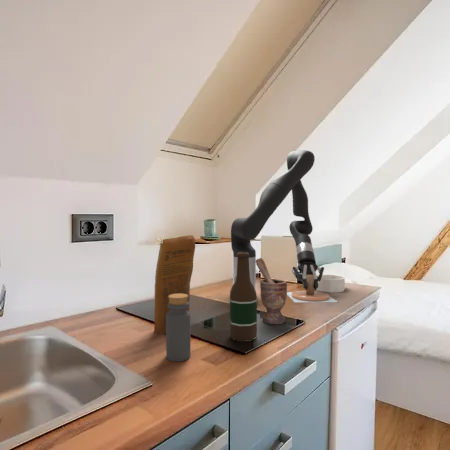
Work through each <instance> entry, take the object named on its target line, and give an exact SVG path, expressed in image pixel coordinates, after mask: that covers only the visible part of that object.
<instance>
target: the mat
mask: <svg viewBox="0 0 450 450" xmlns="http://www.w3.org/2000/svg"><path fill="white" fill-rule="evenodd" d="M292 292H293V291H289V292H288V291H287V297H289V298H290V299H291V301H292V302H293V303H295V304H298V303H338V300H336V299H334V298H333V297H331V296H330V295H329V299H328V300H325V301H303V300H298V299H295V298H293V297H292Z"/></svg>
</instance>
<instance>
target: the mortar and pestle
mask: <svg viewBox="0 0 450 450" xmlns="http://www.w3.org/2000/svg"><path fill="white" fill-rule="evenodd" d="M266 265H267V264H266V263H265V261H264V259H263V257H260V258H256V266H257V269H259V270H258V271H259V272H260V273H261V275H262V277H263V278H264V279H262V280H259V282H260V285H259V286H260V299H261V303H262V305H263V306H264V307H265V309H266V312H265V313H264V315H262V322H263V323H265V324H268V323H269V325H270V324H271V325H278V324H281V323H282V324H284V323H285V322H286V318H285V316H284V315H283V314H282V312H281V311H282V309H283V308H284V307H285V306H286V301H287V297H288V295H287V292H288V282H287V280H283V279H276V278H275V279H274V278H271V276H270V274H269V271H268V268H267V266H266ZM282 324H281V325H282Z"/></svg>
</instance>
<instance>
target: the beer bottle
mask: <svg viewBox="0 0 450 450" xmlns="http://www.w3.org/2000/svg"><path fill="white" fill-rule="evenodd" d="M237 257H238V259H237V276H236V281H235V283H234V284H233V283H232V285H231V287H230V291H229V335H230V338H231V340H232V339H235V340H239V341H245V340H252V339H253V338H255V337H256V338H257V334H258V300H257V298H258V295H257V292H256V291H257V290H256V291H255V288H254V286H253V284H252V283H251V280H250V271H249V257H250V255H249V253H247V252H239V253H237ZM252 341H253V340H252Z"/></svg>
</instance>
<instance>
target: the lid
mask: <svg viewBox="0 0 450 450" xmlns="http://www.w3.org/2000/svg"><path fill="white" fill-rule="evenodd" d="M306 281H307V290H305V289H304V290H303V289H302V290H294V291H291V292H292V297H293V298H295V299H298V300H303V301H325V300H328V299H329V296H330V295H329V294H328V292H322V291H318V290H315V289H314V275H311V274H308V275H306Z"/></svg>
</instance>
